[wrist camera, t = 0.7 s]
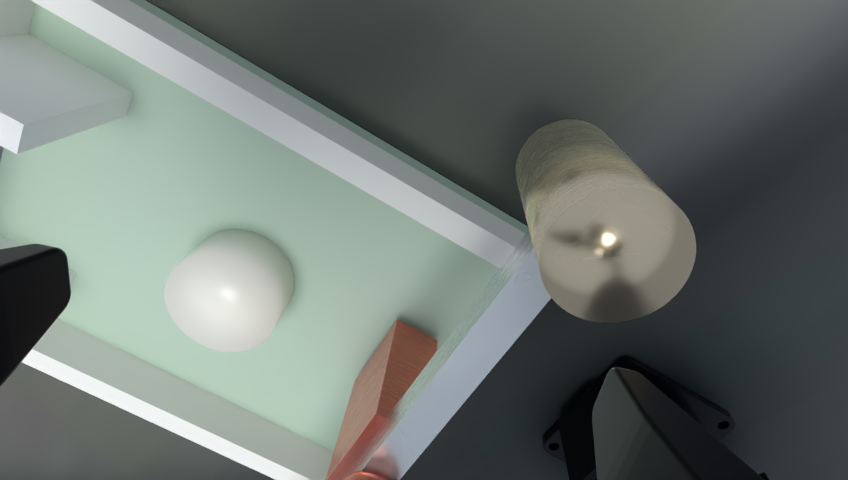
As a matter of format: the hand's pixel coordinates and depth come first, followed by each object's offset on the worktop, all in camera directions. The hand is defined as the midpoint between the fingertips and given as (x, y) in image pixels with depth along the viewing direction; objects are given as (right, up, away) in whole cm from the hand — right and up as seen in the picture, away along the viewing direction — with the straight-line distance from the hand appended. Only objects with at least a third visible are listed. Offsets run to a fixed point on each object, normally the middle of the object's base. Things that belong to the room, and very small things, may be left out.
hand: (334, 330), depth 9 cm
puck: (-6, 0, +14) cm, 15 cm away
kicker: (+1, -2, +14) cm, 14 cm away
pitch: (-7, +1, +15) cm, 16 cm away
